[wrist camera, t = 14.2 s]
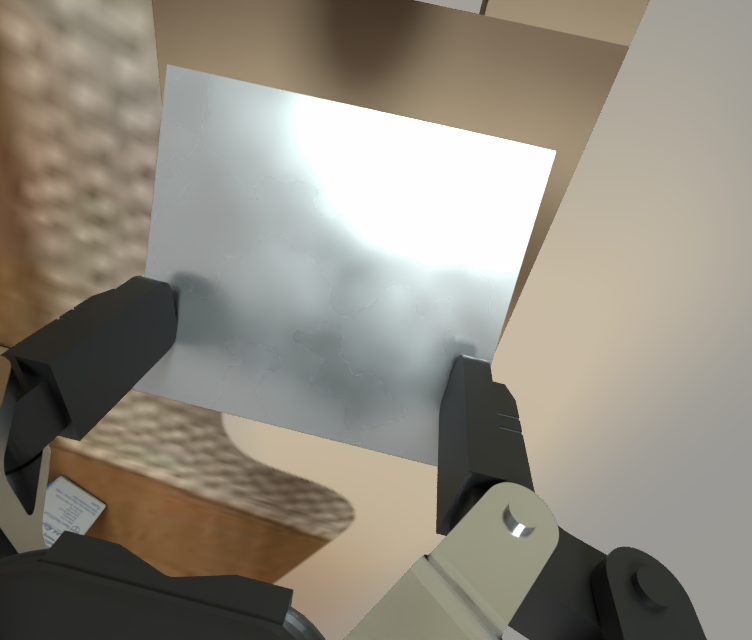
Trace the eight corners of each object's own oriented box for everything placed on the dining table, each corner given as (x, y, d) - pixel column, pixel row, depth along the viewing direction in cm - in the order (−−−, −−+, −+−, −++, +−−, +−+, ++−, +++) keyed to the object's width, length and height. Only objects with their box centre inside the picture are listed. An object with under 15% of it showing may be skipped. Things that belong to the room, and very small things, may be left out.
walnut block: (216, -438, 9) (78, -757, 6) (734, -343, 9) (925, -626, 5) (230, 301, 20) (185, 345, 16) (463, 357, 19) (467, 415, 16)
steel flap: (188, 80, 11) (167, 64, 10) (542, 159, 10) (555, 151, 10) (154, 378, 13) (133, 389, 12) (454, 453, 12) (458, 471, 11)
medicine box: (63, 472, 30) (-59, 594, 23) (110, 504, 32) (10, 629, 24) (22, 499, 34) (-96, 614, 26) (67, 527, 35) (-34, 643, 28)
